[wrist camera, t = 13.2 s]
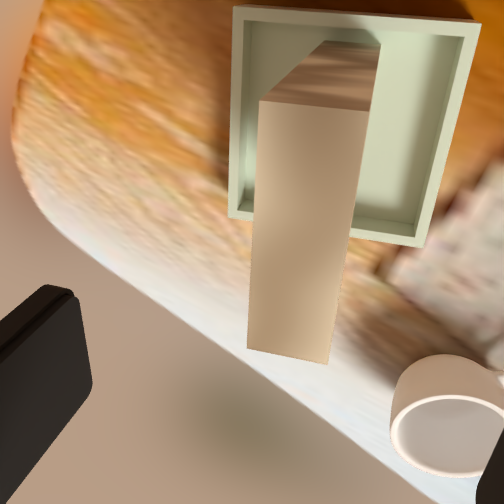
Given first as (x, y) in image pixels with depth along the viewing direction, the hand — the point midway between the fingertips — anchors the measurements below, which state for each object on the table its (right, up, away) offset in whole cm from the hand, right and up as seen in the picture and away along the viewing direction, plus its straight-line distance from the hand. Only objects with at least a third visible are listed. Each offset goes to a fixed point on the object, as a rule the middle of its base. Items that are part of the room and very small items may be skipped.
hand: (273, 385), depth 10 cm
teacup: (+15, -6, +25) cm, 29 cm away
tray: (+5, +10, +18) cm, 21 cm away
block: (+5, +10, +18) cm, 21 cm away
